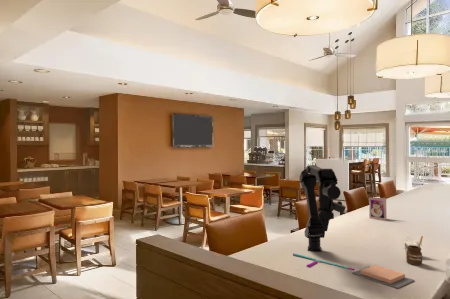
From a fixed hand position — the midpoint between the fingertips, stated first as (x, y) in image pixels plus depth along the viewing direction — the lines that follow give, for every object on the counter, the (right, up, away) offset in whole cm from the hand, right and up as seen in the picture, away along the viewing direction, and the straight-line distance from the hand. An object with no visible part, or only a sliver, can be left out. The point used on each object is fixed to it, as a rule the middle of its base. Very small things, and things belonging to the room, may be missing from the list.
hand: (325, 231), depth 146 cm
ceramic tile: (+16, -11, -20) cm, 28 cm away
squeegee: (-6, -14, -6) cm, 16 cm away
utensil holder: (+37, -13, -5) cm, 40 cm away
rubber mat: (+16, -13, -20) cm, 29 cm away
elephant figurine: (+42, -13, +6) cm, 44 cm away
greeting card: (+66, -13, +88) cm, 110 cm away
